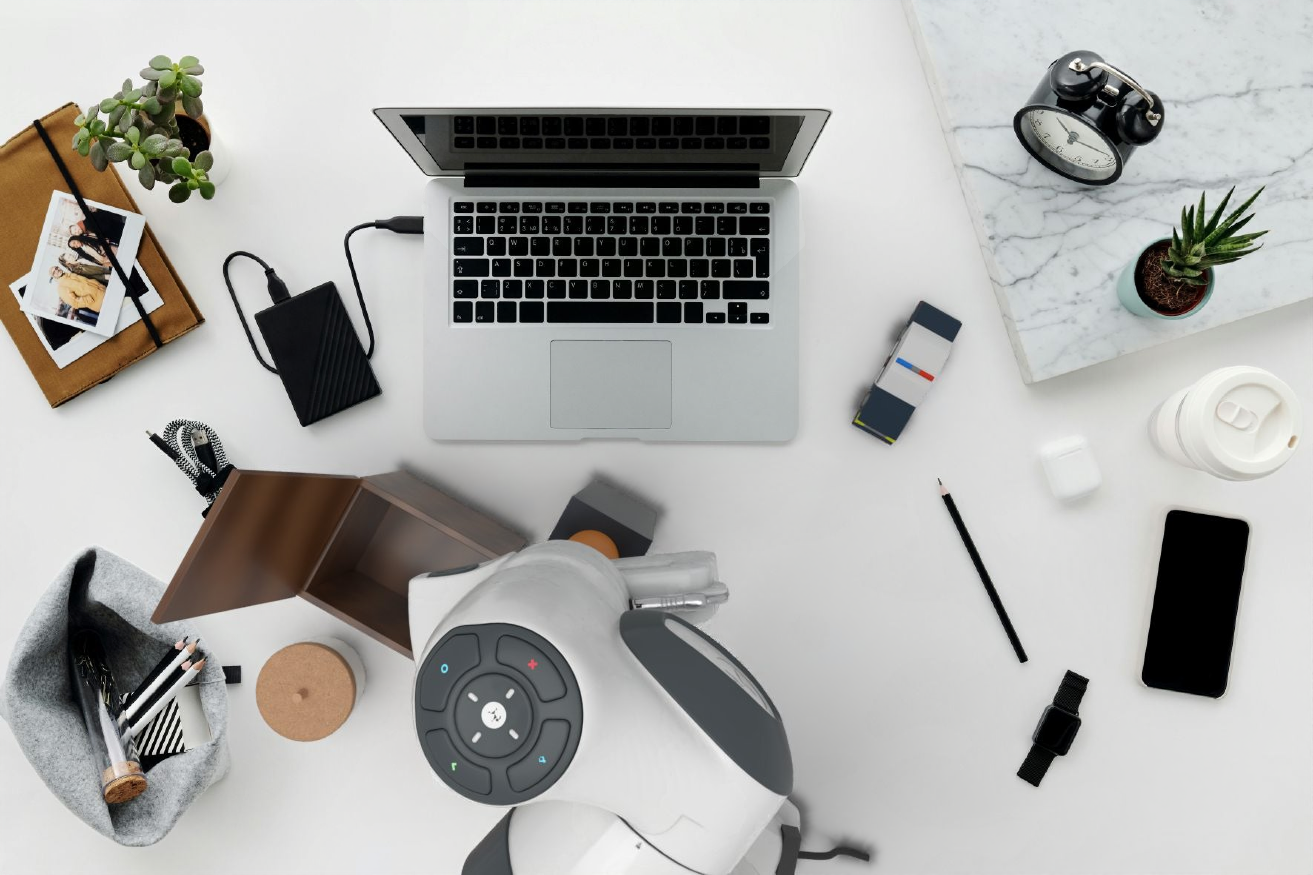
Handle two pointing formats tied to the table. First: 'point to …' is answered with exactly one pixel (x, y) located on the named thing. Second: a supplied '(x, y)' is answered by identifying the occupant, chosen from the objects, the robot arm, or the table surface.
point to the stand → (608, 519)
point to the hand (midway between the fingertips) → (583, 574)
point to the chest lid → (256, 542)
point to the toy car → (907, 373)
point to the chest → (397, 552)
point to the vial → (597, 542)
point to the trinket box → (310, 688)
